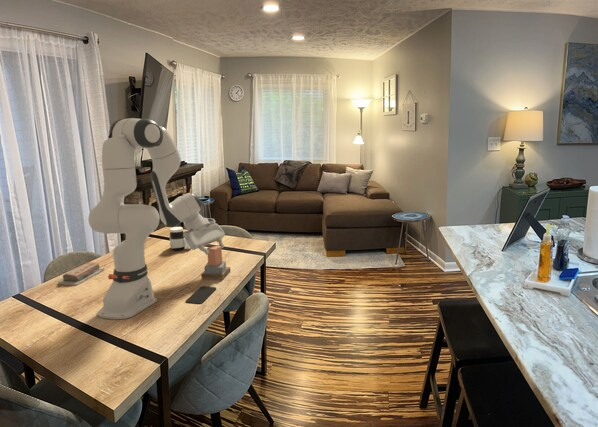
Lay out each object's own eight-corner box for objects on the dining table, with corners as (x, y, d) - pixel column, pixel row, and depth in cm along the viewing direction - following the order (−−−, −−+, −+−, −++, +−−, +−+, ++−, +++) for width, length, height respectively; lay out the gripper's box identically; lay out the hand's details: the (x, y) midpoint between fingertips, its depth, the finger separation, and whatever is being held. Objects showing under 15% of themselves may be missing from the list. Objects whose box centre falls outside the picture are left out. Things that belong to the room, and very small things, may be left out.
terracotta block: (216, 266, 181) (214, 249, 179) (208, 264, 183) (207, 248, 181) (222, 263, 184) (221, 246, 183) (214, 261, 187) (213, 245, 185)
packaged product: (84, 260, 194) (102, 261, 192) (85, 270, 195) (104, 271, 193) (55, 274, 176) (75, 276, 174) (57, 285, 177) (77, 286, 176)
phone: (184, 301, 157) (201, 286, 172) (184, 303, 158) (201, 287, 172) (201, 303, 156) (217, 287, 170) (201, 305, 156) (217, 289, 170)
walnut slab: (222, 281, 179) (222, 275, 178) (201, 280, 181) (201, 273, 180) (230, 272, 189) (230, 266, 188) (210, 271, 190) (209, 266, 190)
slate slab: (222, 273, 180) (222, 267, 179) (204, 273, 180) (204, 267, 179) (225, 267, 188) (225, 261, 187) (208, 267, 188) (208, 261, 187)
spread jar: (169, 247, 226) (167, 227, 224) (190, 244, 231) (188, 224, 228) (172, 253, 216) (170, 232, 213) (194, 250, 220) (192, 229, 218)
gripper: (184, 228, 174) (202, 253, 172) (216, 218, 191) (233, 240, 189) (177, 236, 177) (195, 261, 175) (209, 225, 194) (226, 248, 192)
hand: (215, 250), depth 182 cm, fingers open, 8 cm apart
